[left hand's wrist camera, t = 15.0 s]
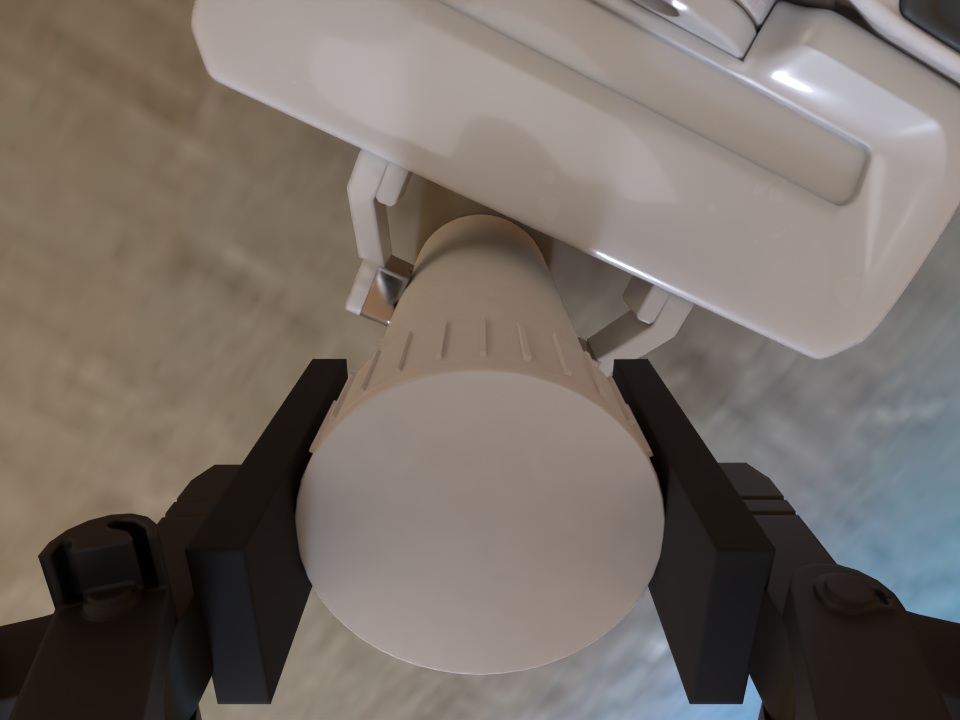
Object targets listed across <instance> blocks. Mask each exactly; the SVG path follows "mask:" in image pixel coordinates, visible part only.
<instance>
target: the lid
mask: <svg viewBox="0 0 960 720" xmlns="http://www.w3.org/2000/svg"><path fill="white" fill-rule="evenodd" d="M309 452H311V453H313V455H312V457H311V459H310V461H309V463H308V466H307V468H306V470H305V472H304V475H303V477H302V479H301V484H300V488H299V492H298V496H297V503H296V513H295V522H296V531H297V539H298V546H299V553H300V557H301V560H302V563H303V566H304V568H305V571H306V573H307V576H308V578H309V580H310V582H311V583H312V585H313V587H314V589H315V591H316V592H317V594H318V596H319V597H320V598H321V600H322V601H323V602H324V603H325V605H326V606H327V607H328V609H329V610H330V611H331V612H332V613H333V614H334V615H335V616H336V617H337V618H338V619H339V620H340V621H341V622H342V623H343V624H344V625H345V626H346V627H347V628H348V629H350V630H351V631H352V632H353V633H355V634H356V635H357V636H359V637H360V638H361V639H363V640H364V641H366V642H368V643H369V644H371V645H372V646H374V647H376V648H377V649H379V650H381V651H383V652H385V653H388V654H390V655H392V656H394V657H396V658H398V659H401V660H404V661H407V662H409V663H412V664H415V665H418V666H422V667H426V668H430V669H434V670H439V671H446V672H453V673H461V674H498V673H508V672H514V671H521V670H526V669H530V668H534V667H538V666H542V665H545V664H548V663H551V662H554V661H556V660H559V659H562V658H565V657H567V656H569V655H571V654H573V653H575V652H577V651H579V650H581V649H583V648H585V647H586V646H588V645H589V644H591V643H593V642H594V641H596V640H597V639H599V638H601V637H602V636H603V635H604V634H606V633H607V632H608V631H609V630H611V629H612V628H613V627H614V626H615V625H617V624H618V623H619V622H620V621H621V620H622V619H623V618H624V617H625V616H626V614H627V613H628V612H629V611H630V610H631V609H632V608H633V607H634V605H635V604H636V603H637V601H638V600H639V599H640V597H641V596H642V594H643V593H644V591H645V589H646V588H647V586H648V584H649V582H650V580H651V578H652V577H653V574H654V572H655V569H656V566H657V564H658V561H659V558H660V554H661V549H662V542H663V534H664V526H665V510H664V501H663V494H662V491H661V487H660V484H659V480H658V476H657V474H656V472H655V470H654V467H653V465H652V463H651V461H650V459H649V457H651V456H653V453H652V451H651V449H650V447H649V445H648V443H647V441H646V439H645V437H644V435H643V433H642V431H641V429H640V427H639V425H638V423H637V421H636V419H635V417H634V415H633V413H632V411H631V409H630V407H629V405H628V404H626V403H625V401H624V399H623V397H622V395H621V393H620V391H619V389H618V387H617V385H616V383H615V381H614V379H613V378H612V377H611V376H609V377H606V375H605V374H604V373H603V372H602V371H601V370H600V369H599V367H598V366H597V365H596V364H595V363H594V362H593V360H592V358H591V356H590V354H589V353H588V352H587V351H585V352H584V353H582V352H581V351H580V350H579V349H577V348H575V347H574V346H572V345H571V344H569V343H568V342H566V341H565V340H563V339H561V338H560V335H559V334H558V333H556V332H554V333H553V334H551V333H548V332H546V331H544V330H542V329H538V328H535V327H532V326H529V325H526V324H524V321H522V320H518V322H512V321H507V320H501V319H486V316H479V318H474V319H460V320H453V321H447V319H443V320H441V323H438V324H434V325H431V326H428V327H425V328H422V329H419V330H416V331H414V332H411V330H409V331H406V332H405V334H404V336H403V337H401V338H399V339H397V340H396V341H394V342H393V343H391V344H389V345H388V346H386V347H385V348H383V349H382V350H380V349H379V348H377V349H376V350H375V351H374V352H373V355H372V357H371V359H370V360H369V361H368V362H366V363H365V364H364V365H363V367H362V368H361V369H360V370H359V371H358V372H357V373H356V374H354V373H353V372H352V373H351V374H350V376H349V378H348V380H347V382H346V384H345V386H344V388H343V390H342V392H341V394H340V396H339V398H338V400H337V401H335V400H334V401H333V403H332V405H331V407H330V409H329V411H328V413H327V415H326V417H325V419H324V421H323V423H322V425H321V427H320V429H319V431H318V433H317V435H316V437H315V439H314V441H313V443H312V445H311V447H310V449H309Z"/></svg>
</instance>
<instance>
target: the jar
mask: <svg viewBox="0 0 960 720" xmlns="http://www.w3.org/2000/svg"><path fill="white" fill-rule="evenodd" d="M414 266H415V267H414V270H413V272H412V275H411V277H410V279H409V282H408V284H407V287H406V289H405V291H404V293H403V295H402V296H401V298H400V300H399V302H398V304H397V306H396V309H395V311H394V313H393V316H392V318H391V320H390V323H389V325H388V327H387V330H386V332H385V334H384V337H383V339H382V341H381V344H380V346H379V349H380V350H382V349H383V348H385V347H386V346H388V345H389V344H391V343H393V342H394V341H396V340H397V339H399V338H401V337H403V336H404V334H405V332H406V331H409V330H411V332H414V331H416V330H419V329H422V328H425V327H428V326H431V325H434V324H438V323H441V320H443V319H447V321H453V320H460V319H474V318H479V316H486V319H501V320H507V321H512V322H518V320H522V321H524V324H526V325H529V326H532V327H535V328H538V329H542V330H544V331H546V332H548V333H551V334H553V333H554V332H556V333H558V334H559V335H560V338H561V339H563V340H565V341H566V342H568V343H569V344H571V345H572V346H574V347H575V348H577V349H579V350H580V351H581V352H582V353H584V352H583V349H582V347H581V345H580V342H579V340H578V338H577V335H576V333H575V331H574V328H573V326H572V324H571V321H570V319H569V317H568V314H567V312H566V310H565V307H564V305H563V303H562V300H561V298H560V295H559V293H558V291H557V288H556V286H555V284H554V281H553V279H552V277H551V274H550V272H549V270H548V267H547V265H546V263H545V260H544V258H543V256H542V253H541V252H540V250H539V248H538V246H537V245H536V243H535V242H534V240H533V239H532V238H531V237H530V236H529V235H528V234H527V233H526V232H525V231H524V230H523V229H522V228H520V227H519V226H517V225H516V224H514V223H512V222H510V221H508V220H506V219H503V218H500V217H497V216H491V215H469V216H464V217H460V218H457V219H455V220H453V221H450V222H448V223H447V224H445V225H443V226H442V227H440V228H439V229H438V230H437V231H435V232H434V233H433V234H432V235H431V236H430V237H429V239H428V240H427V241H426V243H425V244H424V245H423V247H422V249H421V251H420V253H419V255H418V257H417V260H416V262H415V264H414Z"/></svg>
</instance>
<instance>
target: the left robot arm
mask: <svg viewBox="0 0 960 720" xmlns="http://www.w3.org/2000/svg"><path fill="white" fill-rule="evenodd" d="M612 378H613V379H614V381H615V383H616V385H617V387H618V389H619V391H620V393H621V395H622V397H623V399H624V401H625V403H626V404H628V405H629V407H630V409H631V411H632V413H633V415H634V417H635V419H636V421H637V423H638V425H639V427H640V429H641V431H642V433H643V435H644V437H645V439H646V441H647V443H648V445H649V447H650V449H651V451H652V453H653V456H651V457H649V459H650V461H651V463H652V465H653V467H654V470H655V472H656V474H657V476H658V480H659V484H660V487H661V491H662V494H663V501H664V510H665V526H664V534H663V542H662V549H661V554H660V558H659V561H658V564H657V566H656V569H655V572H654V574H653V577H652V578H651V580H650V582H649V584H648V587H649V590H650V593H651V596H652V598H653V601H654V604H655V607H656V610H657V613H658V615H659V618H660V621H661V624H662V627H663V630H664V632H665V635H666V638H667V641H668V644H669V647H670V649H671V652H672V655H673V658H674V661H675V664H676V666H677V669H678V672H679V675H680V678H681V680H682V683H683V686H684V689H685V692H686V695H687V697H688V700H689V703H690V704H743V700H744V695H745V690H746V686H747V681H748V676H749V674H750V676H751V679H752V681H753V683H754V685H755V687H756V689H757V691H758V693H759V695H760V697H761V699H762V705H761V709H760V713H759V718H758V720H960V624H959V623H955V622H950V621H946V620H941V619H937V618H932V617H928V616H923V615H919V614H915V613H912V612H908V611H906V610H905V608H904V607H903V605H902V604H901V602H900V601H899V599H898V598H897V597H896V595H895V594H894V593H893V592H892V591H890V590H889V589H888V588H887V587H885V586H884V585H883V584H881V583H880V582H879V581H878V580H876V579H874V578H872V577H870V576H868V575H866V574H864V573H862V572H860V571H858V570H855V569H851V568H848V567H844V566H841V565H837V564H836V562H835V561H834V560H833V559H832V557H831V556H830V555H829V553H828V552H827V551H826V550H825V548H824V547H823V546H822V545H821V543H820V542H819V541H818V539H817V538H816V537H815V536H814V534H813V533H812V532H811V531H810V529H809V528H808V527H807V525H806V524H805V523H804V522H803V520H802V519H801V518H800V517H799V515H796V514H795V510H794V509H793V508H792V506H791V505H790V504H789V503H788V501H787V500H784V496H783V495H782V494H781V492H780V491H779V490H778V489H777V487H776V486H775V485H774V484H773V482H772V481H771V480H770V478H768V477H767V476H765V475H764V474H762V473H761V472H759V471H758V470H756V469H755V468H753V467H751V466H750V465H748V464H747V463H717V461H716V460H715V458H714V457H713V455H712V454H711V452H710V451H709V449H708V448H707V446H706V445H705V443H704V442H703V440H702V439H701V437H700V436H699V434H698V433H697V431H696V430H695V429H694V427H693V426H692V424H691V423H690V421H689V420H688V418H687V417H686V415H685V414H684V412H683V411H682V409H681V408H680V406H679V405H678V403H677V402H676V400H675V399H674V397H673V396H672V394H671V393H670V391H669V390H668V388H667V387H666V386H665V384H664V383H663V381H662V380H661V378H660V377H659V375H658V374H657V372H656V371H655V369H654V368H653V366H652V365H651V363H650V362H649V360H648V359H614V365H613V377H612ZM347 380H348V373H347V361H346V359H312V361H311V362H310V364H309V365H308V367H307V368H306V370H305V371H304V373H303V374H302V376H301V377H300V379H299V380H298V382H297V383H296V385H295V386H294V388H293V389H292V391H291V392H290V393H289V395H288V396H287V398H286V399H285V401H284V402H283V404H282V405H281V407H280V408H279V410H278V411H277V413H276V414H275V416H274V417H273V419H272V420H271V422H270V423H269V425H268V426H267V428H266V429H265V431H264V432H263V434H262V435H261V437H260V438H259V439H258V441H257V442H256V444H255V445H254V447H253V448H252V450H251V451H250V453H249V454H248V456H247V457H246V459H245V460H244V462H243V463H242V465H214V466H212V467H211V468H209V469H208V470H206V471H205V472H203V473H202V474H200V475H199V476H197V477H196V478H194V479H193V480H191V481H190V483H189V484H188V485H187V487H186V488H185V489H184V490H183V492H182V493H181V494H180V496H179V497H178V498H177V502H174V503H173V505H172V506H171V507H170V508H169V510H168V511H167V512H166V513H165V517H162V519H161V520H160V521H159V522H158V524H156V523H155V522H153V521H152V520H151V519H150V518H148V517H146V516H141V515H136V514H116V515H108V516H105V517H101V518H97V519H93V520H89V521H87V522H84V523H82V524H80V525H77V526H75V527H73V528H71V529H68V530H67V531H65V532H64V533H62V534H61V535H59V536H58V537H56V538H55V539H54V540H52V541H51V542H49V543H48V545H47V546H46V547H45V548H44V549H43V551H42V552H41V553H40V554H39V555H38V557H39V560H40V563H41V567H42V570H43V573H44V576H45V579H46V582H47V585H48V588H49V591H50V594H51V597H52V600H53V604H54V607H55V611H54V614H51V615H47V616H44V617H40V618H36V619H31V620H27V621H22V622H18V623H13V624H9V625H4V626H0V720H202V719H201V713H200V709H199V705H198V704H199V701H200V699H201V697H202V695H203V693H204V691H205V689H206V687H207V685H208V682H209V680H210V678H211V676H212V679H213V684H214V688H215V693H216V698H217V702H218V704H271V701H272V699H273V696H274V693H275V690H276V687H277V684H278V682H279V679H280V676H281V673H282V670H283V667H284V665H285V662H286V659H287V656H288V653H289V650H290V648H291V645H292V642H293V639H294V636H295V633H296V631H297V628H298V625H299V622H300V619H301V616H302V614H303V611H304V608H305V605H306V602H307V599H308V597H309V594H310V591H311V588H312V583H311V582H310V580H309V578H308V576H307V573H306V571H305V568H304V566H303V563H302V560H301V557H300V553H299V546H298V539H297V531H296V522H295V513H296V503H297V496H298V492H299V488H300V484H301V479H302V477H303V475H304V472H305V470H306V468H307V466H308V463H309V461H310V459H311V457H312V455H313V453H311V452H309V449H310V447H311V445H312V443H313V441H314V439H315V437H316V435H317V433H318V431H319V429H320V427H321V425H322V423H323V421H324V419H325V417H326V415H327V413H328V411H329V409H330V407H331V405H332V403H333V401H334V400H335V401H337V400H338V398H339V396H340V394H341V392H342V390H343V388H344V386H345V384H346V382H347Z"/></svg>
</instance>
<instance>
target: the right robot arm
mask: <svg viewBox="0 0 960 720" xmlns="http://www.w3.org/2000/svg"><path fill="white" fill-rule="evenodd" d="M191 28H192V32H193V35H194V38H195V41H196V43H197V46H198V49H199V52H200V55H201V57H202V60H203V63H204V65H205V67H206V70H207V72H208V74H209V75H210V76H211V77H212V78H213V79H214V80H216V81H217V82H219V83H221V84H223V85H225V86H228V87H230V88H232V89H234V90H236V91H238V92H240V93H242V94H245V95H247V96H249V97H251V98H253V99H255V100H258V101H260V102H262V103H264V104H266V105H268V106H270V107H273V108H275V109H277V110H279V111H281V112H283V113H286V114H288V115H290V116H292V117H294V118H296V119H298V120H301V121H303V122H305V123H307V124H309V125H311V126H314V127H316V128H318V129H320V130H322V131H324V132H326V133H329V134H331V135H333V136H335V137H337V138H339V139H342V140H344V141H346V142H348V143H350V144H352V145H354V146H357V147H359V148H361V150H360V152H359V155H358V158H357V161H356V163H355V166H354V169H353V172H352V174H351V177H350V180H349V183H348V185H347V193H348V199H349V204H350V210H351V215H352V220H353V226H354V231H355V237H356V242H357V248H358V253H359V257H361V258H363V260H362V263H361V265H360V268H359V271H358V273H357V276H356V278H355V281H354V283H353V286H352V289H351V291H350V294H349V296H348V299H347V301H346V305H345V309H346V310H348V311H350V312H352V313H354V314H356V315H361V316H363V317H366V318H368V319H371V320H373V321H375V322H378V323H380V324H383V325H385V326H388V325H389V323H390V320H391V318H392V316H393V313H394V311H395V309H396V306H397V304H398V302H399V300H400V298H401V296H402V295H403V293H404V291H405V289H406V287H407V284H408V282H409V279H410V277H411V275H412V272H413V270H414V267H415V266H414V265H412V264H410V263H408V262H406V261H404V260H401V259H399V258H397V257H395V256H393V255H392V249H391V242H390V234H389V226H388V219H387V211H386V205H387V206H393V205H395V204H396V203H397V202H398V201H399V200H400V198H401V197H402V196H403V195H404V193H405V190H406V188H407V185H408V183H409V181H410V178H411V176H412V173H415V174H417V175H419V176H421V177H423V178H425V179H428V180H430V181H432V182H434V183H436V184H438V185H441V186H443V187H445V188H447V189H449V190H451V191H453V192H456V193H458V194H460V195H462V196H464V197H466V198H469V199H471V200H473V201H475V202H477V203H479V204H481V205H484V206H486V207H488V208H490V209H492V210H494V211H496V212H499V213H501V214H503V215H505V216H507V217H509V218H512V219H514V220H516V221H518V222H520V223H522V224H524V225H527V226H529V227H531V228H533V229H535V230H537V231H540V232H542V233H544V234H546V235H548V236H550V237H552V238H555V239H557V240H559V241H561V242H563V243H565V244H568V245H570V246H572V247H574V248H576V249H578V250H580V251H583V252H585V253H587V254H589V255H591V256H593V257H595V258H598V259H600V260H602V261H604V262H606V263H608V264H611V265H613V266H615V267H617V268H619V269H621V270H623V271H626V272H628V273H630V274H632V275H633V276H632V278H631V280H630V282H629V284H628V286H627V287H626V289H625V291H624V293H623V295H622V296H623V300H624V301H625V302H626V304H627V305H628V306H629V307H630V309H631V310H630V311H628V312H627V313H625V314H624V315H622V316H621V317H620V318H618V319H617V320H615V321H614V322H612V323H611V324H609V325H608V326H606V327H605V328H603V329H602V330H600V331H599V332H598V333H596V334H595V335H593V336H592V337H590V338H589V339H587V341H586V340H583V339H581V338H579V337H577V338H578V340H579V342H580V345H581V347H582V349H583V352H585V351H587V352H588V353H589V354H590V356H591V358H592V360H593V362H594V363H595V364H596V365H597V366H598V367H599V369H600V370H601V371H602V372H603V373H604V374H605V375H606V377H609V376H610V375H611V373H612V371H613V365H614V359H637V358H639V357H640V356H642V355H644V354H646V353H647V352H649V351H651V350H653V349H654V348H656V347H658V346H659V345H661V344H663V343H665V342H666V341H668V340H670V339H672V338H673V337H675V335H676V333H677V332H678V330H679V328H680V327H681V325H682V324H683V322H684V320H685V319H686V317H687V315H688V314H689V312H690V310H691V309H692V307H693V306H694V304H697V305H699V306H701V307H703V308H705V309H707V310H710V311H712V312H714V313H716V314H718V315H720V316H722V317H725V318H727V319H729V320H731V321H733V322H735V323H738V324H740V325H742V326H744V327H746V328H748V329H750V330H753V331H755V332H757V333H759V334H761V335H763V336H766V337H768V338H770V339H772V340H774V341H776V342H778V343H781V344H783V345H785V346H787V347H789V348H791V349H794V350H796V351H798V352H800V353H802V354H804V355H807V356H809V357H811V358H814V359H824V358H826V357H829V356H832V355H834V354H837V353H839V352H841V351H844V350H846V349H848V348H850V347H852V346H854V345H857V344H859V343H861V342H862V341H863V340H865V339H866V338H867V337H868V336H869V335H870V334H871V333H872V332H873V331H874V330H875V329H876V328H877V326H878V325H879V324H880V323H881V322H882V320H883V319H884V318H885V317H886V315H887V314H888V313H889V311H890V310H891V308H892V307H893V306H894V304H895V303H896V302H897V300H898V299H899V297H900V296H901V295H902V293H903V292H904V291H905V289H906V288H907V286H908V285H909V283H910V282H911V280H912V279H913V277H914V276H915V274H916V273H917V272H918V270H919V269H920V267H921V266H922V264H923V263H924V261H925V260H926V258H927V256H928V255H929V253H930V252H931V250H932V249H933V247H934V246H935V244H936V243H937V241H938V240H939V238H940V236H941V235H942V233H943V231H944V230H945V228H946V226H947V225H948V223H949V221H950V220H951V218H952V216H953V215H954V213H955V211H956V210H957V208H958V206H959V205H960V0H195V2H194V6H193V9H192V16H191Z"/></svg>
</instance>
